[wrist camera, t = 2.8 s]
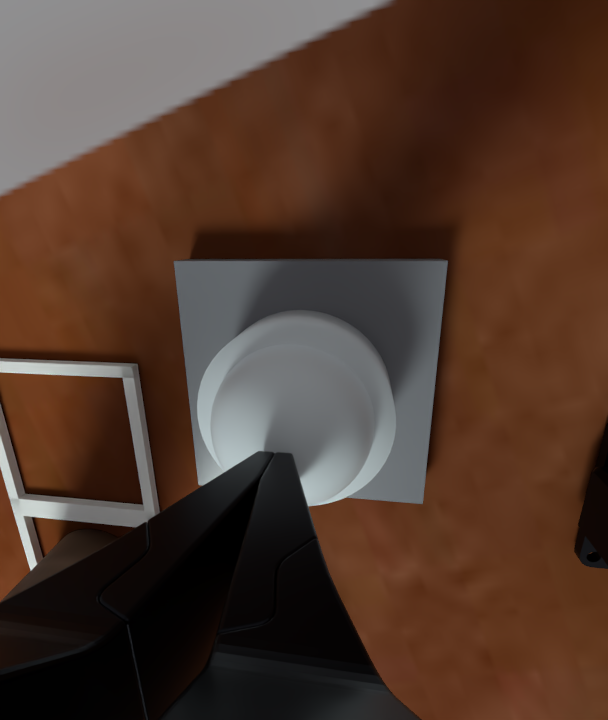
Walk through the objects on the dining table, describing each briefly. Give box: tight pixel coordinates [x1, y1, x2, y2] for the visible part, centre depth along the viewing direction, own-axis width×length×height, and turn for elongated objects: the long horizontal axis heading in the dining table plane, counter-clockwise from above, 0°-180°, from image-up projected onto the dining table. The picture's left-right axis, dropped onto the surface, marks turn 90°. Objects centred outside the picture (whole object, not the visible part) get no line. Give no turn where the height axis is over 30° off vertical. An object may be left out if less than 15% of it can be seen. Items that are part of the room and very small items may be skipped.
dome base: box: [174, 259, 448, 504], centre depth 14 cm, size 9×9×1 cm
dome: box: [197, 310, 396, 506], centre depth 11 cm, size 6×6×5 cm
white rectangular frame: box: [0, 358, 160, 570], centre depth 18 cm, size 8×15×1 cm, turn 0°
